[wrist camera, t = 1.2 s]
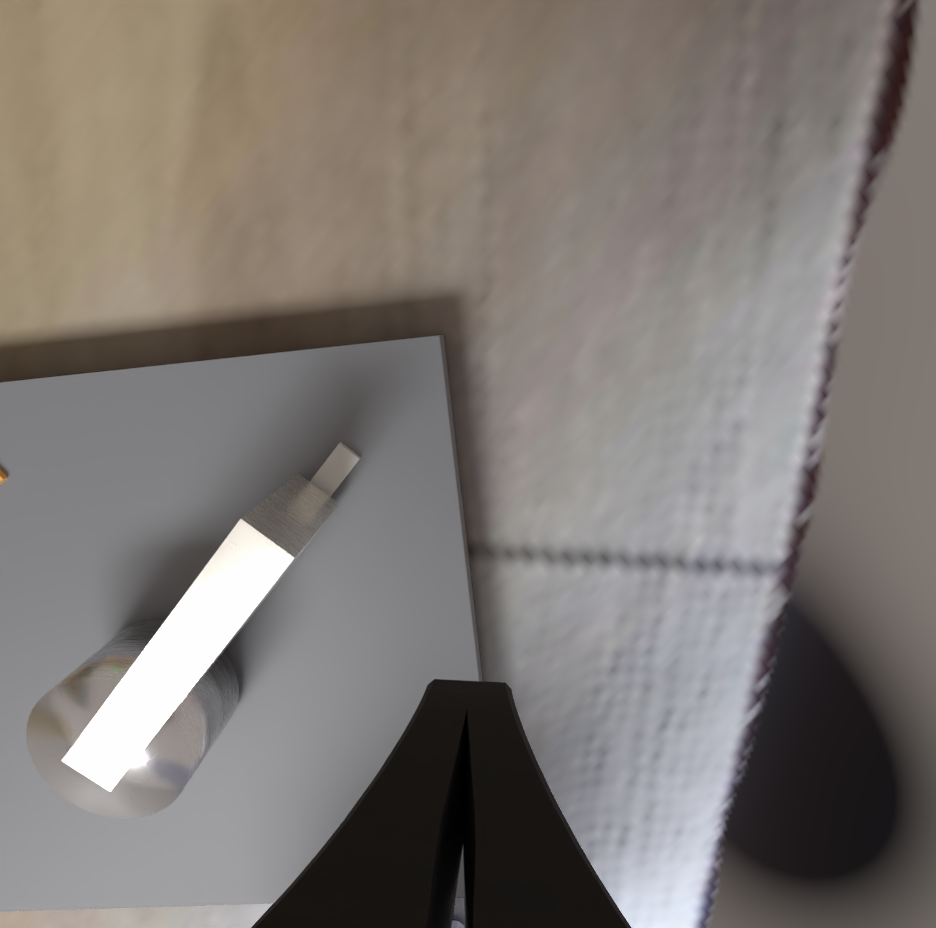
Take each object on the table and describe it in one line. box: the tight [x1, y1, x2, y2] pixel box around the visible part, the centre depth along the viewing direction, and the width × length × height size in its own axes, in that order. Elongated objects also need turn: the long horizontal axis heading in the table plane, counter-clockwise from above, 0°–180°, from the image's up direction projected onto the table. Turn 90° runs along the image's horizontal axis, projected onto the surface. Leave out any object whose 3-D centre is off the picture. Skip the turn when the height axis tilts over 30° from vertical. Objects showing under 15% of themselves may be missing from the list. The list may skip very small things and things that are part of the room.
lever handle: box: [26, 474, 340, 818], centre depth 16 cm, size 12×5×4 cm, turn 141°
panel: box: [0, 334, 483, 912], centre depth 20 cm, size 22×22×2 cm
